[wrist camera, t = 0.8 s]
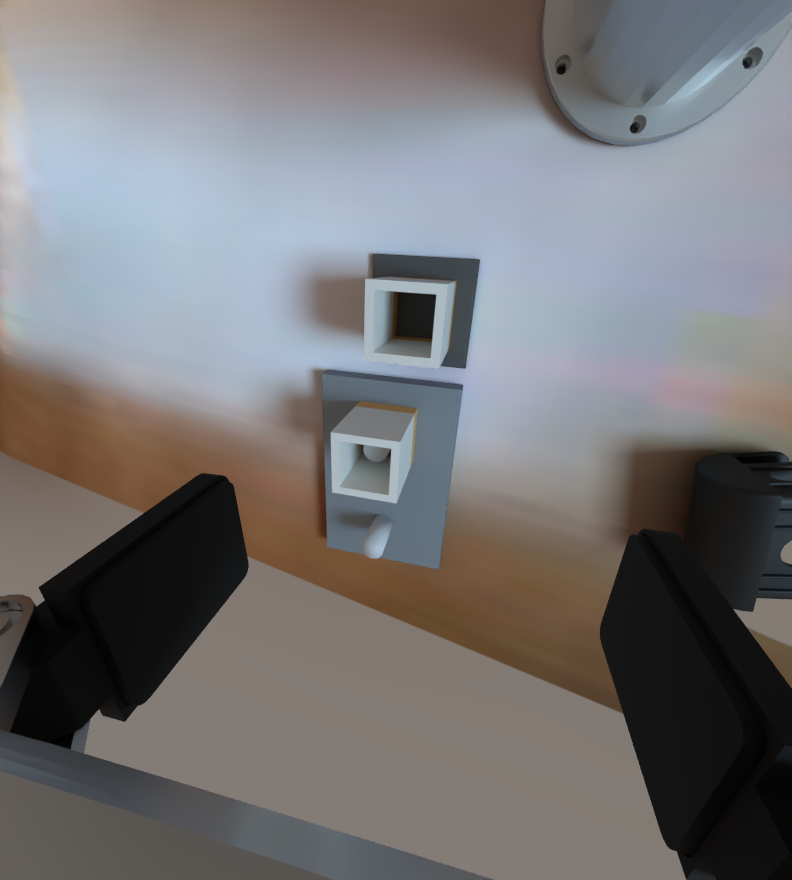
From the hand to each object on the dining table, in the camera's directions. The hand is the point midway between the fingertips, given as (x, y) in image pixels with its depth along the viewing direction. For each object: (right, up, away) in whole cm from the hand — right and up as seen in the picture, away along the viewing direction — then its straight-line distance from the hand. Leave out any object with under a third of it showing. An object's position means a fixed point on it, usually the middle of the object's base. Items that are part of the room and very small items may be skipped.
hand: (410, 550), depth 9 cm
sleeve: (+2, +13, +21) cm, 24 cm away
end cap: (+26, -2, +22) cm, 35 cm away
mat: (+2, +13, +21) cm, 25 cm away
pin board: (-1, 0, +28) cm, 28 cm away
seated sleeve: (-1, +3, +24) cm, 24 cm away
